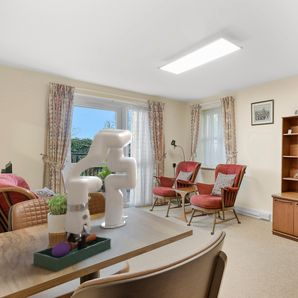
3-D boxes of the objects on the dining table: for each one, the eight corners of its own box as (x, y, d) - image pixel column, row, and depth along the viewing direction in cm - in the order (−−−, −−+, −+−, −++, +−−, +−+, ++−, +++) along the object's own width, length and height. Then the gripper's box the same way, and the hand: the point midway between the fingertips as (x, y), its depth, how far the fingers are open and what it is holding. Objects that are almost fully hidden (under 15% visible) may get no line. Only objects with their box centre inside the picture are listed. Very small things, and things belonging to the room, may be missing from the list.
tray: (89, 243, 113) (89, 234, 113) (110, 248, 109) (110, 238, 109) (33, 264, 92) (33, 252, 92) (56, 271, 87) (57, 259, 87)
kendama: (100, 232, 111) (62, 247, 91) (97, 244, 110) (58, 262, 91) (90, 229, 111) (50, 243, 92) (86, 241, 111) (45, 257, 91)
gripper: (99, 207, 102) (98, 247, 102) (73, 202, 107) (71, 241, 107) (82, 211, 94) (81, 255, 95) (55, 206, 100) (53, 247, 100)
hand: (76, 247), depth 101 cm, fingers closed on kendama, 5 cm apart
